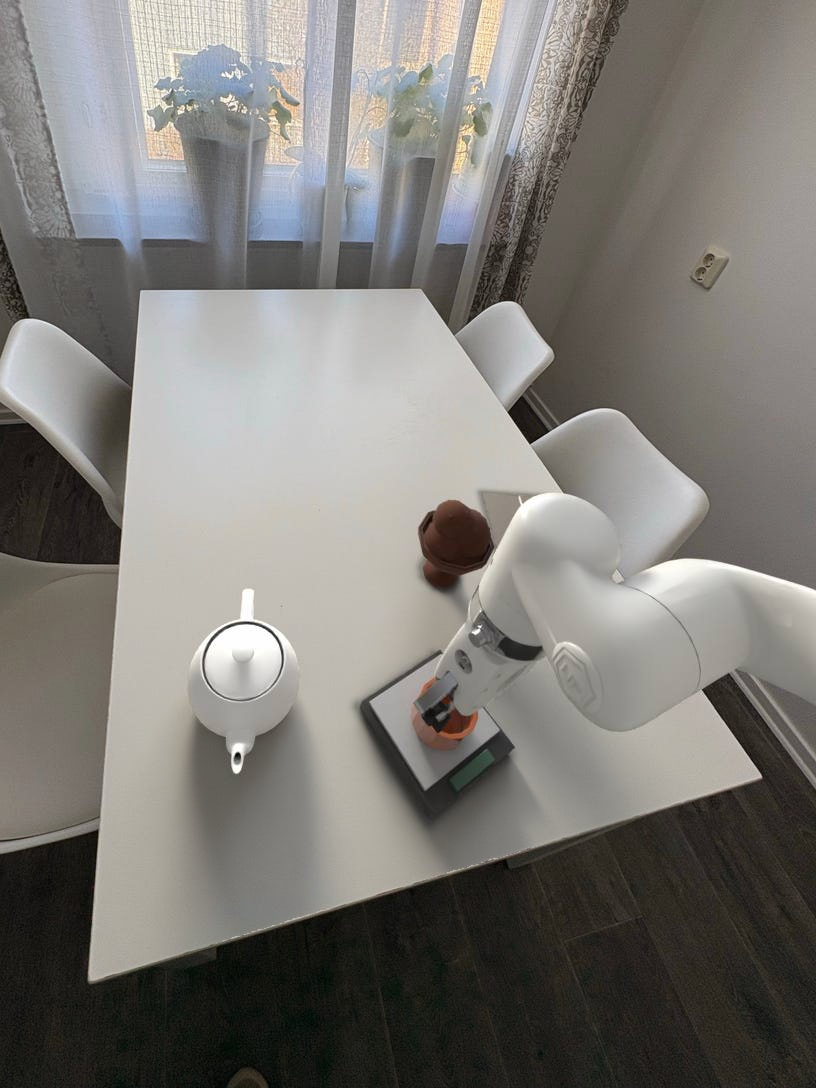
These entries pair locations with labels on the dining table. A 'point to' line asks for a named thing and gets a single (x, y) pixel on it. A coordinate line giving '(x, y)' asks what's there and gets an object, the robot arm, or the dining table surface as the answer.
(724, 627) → the robot arm
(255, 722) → the teapot
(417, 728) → the dip bowl
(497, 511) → the platform
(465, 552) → the ice cream bowl
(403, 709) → the scale
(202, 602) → the dining table surface
